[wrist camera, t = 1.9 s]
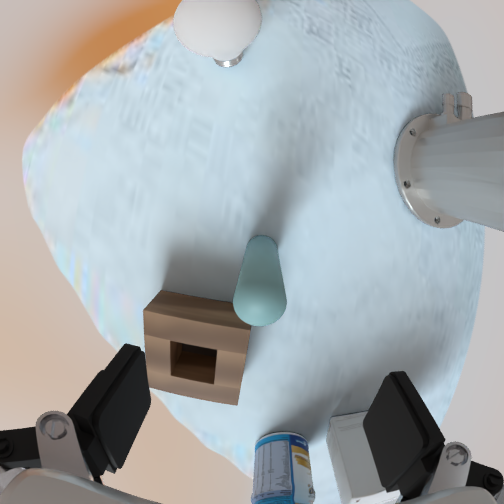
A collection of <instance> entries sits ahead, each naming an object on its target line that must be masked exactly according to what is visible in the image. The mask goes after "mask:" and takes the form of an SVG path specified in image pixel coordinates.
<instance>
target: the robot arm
mask: <svg viewBox="0 0 504 504" xmlns="http://www.w3.org/2000/svg"><path fill="white" fill-rule="evenodd" d="M442 96H443V112H442V113H441V115H440V114H431V113H430V114H425V115H421V116H419V117H416V118H414V119H413V120H412V121H410V122H409V123H408V124H407V125H406V126H405V127H404V129H403V130H402V132H401V134H400V136H399V138H398V140H397V144H396V147H395V154H394V173H395V178H396V183H397V186H398V189H399V192H400V195H401V197H402V199H403V201H404V203H405V205H406V206H407V207H408V209H409V210H410V211H411V213H412V214H413V215H414V216H415V217H417V218H418V219H419V220H420V221H422V222H424V223H425V224H428V225H430V226H433V227H437V228H450V227H453V226H456V225H458V224H459V223H461V222H462V221H464V220H466V221H470V222H473V223H477V224H480V225H483V226H487V227H490V228H493V229H497V230H500V231H503V232H504V112H500V113H495V114H490V115H485V116H480V117H475V118H472V97H471V95H469V94H468V93H465V92H458V93H457V109H458V117H456V116H455V115H454V96H453V95H451V94H448V93H445V94H443V95H442ZM404 182H405V186H404ZM150 405H151V396H150V390H149V383H148V376H147V368H146V359H145V353H144V352H143V351H141V348H140V347H138V346H134V345H130V344H127V343H126V344H124V345H123V347H122V348H121V349H120V350H119V352H118V353H117V354H116V355H115V357H114V358H113V359H112V361H111V362H110V363H109V364H108V366H107V367H106V369H105V370H101V371H100V372H99V373H98V374H97V375H96V377H95V378H94V379H93V380H92V382H91V383H90V384H89V386H88V387H87V388H86V390H85V391H84V392H83V394H82V395H81V396H80V398H79V399H78V400H77V402H76V403H75V404H74V406H73V407H72V408H71V410H70V411H69V412H68V414H67V415H66V414H64V413H63V412H59V411H50V412H46V413H44V414H42V415H41V416H40V417H39V418H38V419H37V422H36V427H29V428H22V429H13V430H3V431H0V504H161V503H158V502H154V501H150V500H147V499H143V498H140V497H137V496H134V495H131V494H127V493H124V492H122V491H119V490H116V489H113V488H111V487H108V486H106V485H105V483H104V481H103V478H102V476H101V475H103V474H104V472H105V470H107V471H109V472H112V473H114V474H115V472H116V470H117V468H119V469H121V468H122V466H123V464H124V462H125V460H126V457H127V455H128V453H129V451H130V449H131V447H132V444H133V442H134V440H135V438H136V436H137V433H138V431H139V429H140V427H141V425H142V423H143V421H144V418H145V416H146V414H147V412H148V410H149V408H150ZM363 428H364V431H365V434H366V437H367V440H368V444H369V447H370V450H371V453H372V456H373V459H374V462H375V466H376V469H377V472H378V476H379V479H380V482H381V485H382V487H384V488H385V489H386V492H387V493H389V492H393V491H397V490H399V491H400V496H399V497H398V499H397V501H396V503H395V504H504V485H503V483H504V482H503V481H504V480H503V476H502V474H501V473H500V472H499V471H498V470H496V469H494V468H491V467H487V466H484V465H481V464H479V463H476V462H473V461H471V453H470V450H469V449H468V448H467V446H465V445H464V444H462V443H460V442H450V443H448V444H447V445H446V446H445V445H444V442H445V438H444V436H443V434H442V433H441V431H440V429H439V427H438V425H437V424H436V422H435V420H434V418H433V417H432V415H431V413H430V412H429V410H428V408H427V407H426V405H425V403H424V402H423V400H422V398H421V397H420V395H419V393H418V392H417V390H416V388H415V387H414V385H413V384H412V382H411V380H410V379H409V377H408V376H407V374H406V373H405V372H404V371H398V372H391V373H389V375H388V376H386V377H385V379H384V381H383V383H382V385H381V387H380V389H379V391H378V393H377V395H376V397H375V399H374V401H373V403H372V405H371V407H370V408H369V410H368V412H367V414H366V416H365V418H364V420H363Z"/></svg>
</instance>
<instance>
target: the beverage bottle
mask: <svg viewBox="0 0 504 504" xmlns="http://www.w3.org/2000/svg"><path fill="white" fill-rule="evenodd" d="M314 500H315V491H314V489H313V482H312V474H311V466H310V459H309V451H308V442H307V440H306V439H305V438H304V437H303V436H301V435H299V434H296V433H291V432H277V433H272V434H269V435H266V436H264V437H262V438H261V439H259V440H258V442H257V443H256V445H255V463H254V479H253V493H252V495H251V502H252V504H313V502H314Z"/></svg>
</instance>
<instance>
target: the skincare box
mask: <svg viewBox="0 0 504 504" xmlns="http://www.w3.org/2000/svg"><path fill="white" fill-rule="evenodd" d="M367 412H368V411H365V412H360V413H355V414H349V415H343V416H337V417H331V419H330V423H329V428H328V432H327V436H326V442H327V446H328V450H329V454H330V458H331V462H332V466H333V470H334V474H335V478H336V483H337V487H338V491H339V495H340V499H341V503H342V504H382V503H385V502H388V501H391V500H394V499H397V498H398V497H399V496H400V491H399V490H397V491H393V492H389V493H387V492H386V489H385V488H384V487H382V485H381V482H380V479H379V476H378V472H377V469H376V466H375V462H374V459H373V456H372V453H371V450H370V447H369V444H368V440H367V437H366V434H365V431H364V428H363V420H364V418H365V416H366V414H367Z"/></svg>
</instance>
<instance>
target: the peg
mask: <svg viewBox="0 0 504 504" xmlns="http://www.w3.org/2000/svg"><path fill="white" fill-rule="evenodd" d="M286 304H287V300H286V294H285V288H284V283H283V277H282V272H281V267H280V261H279V256H278V251H277V246H276V244H275V242H274V241H273V240H272V239H271V238H270V237H267V236H263V235H260V236H256V237H254V238H252V239H251V240H250V241H249V243H248V245H247V248H246V252H245V255H244V259H243V263H242V267H241V271H240V274H239V278H238V282H237V286H236V290H235V293H234V298H233V306H234V310H235V312H236V314H237V315H238V317H239V318H240V319H241V320H243V321H244V322H246V323H248V324H250V325H253V326H266V325H270V324H272V323H274V322H276V321H277V320H278V319H280V318H281V316H282V315H283V313H284V312H285V309H286Z"/></svg>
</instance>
